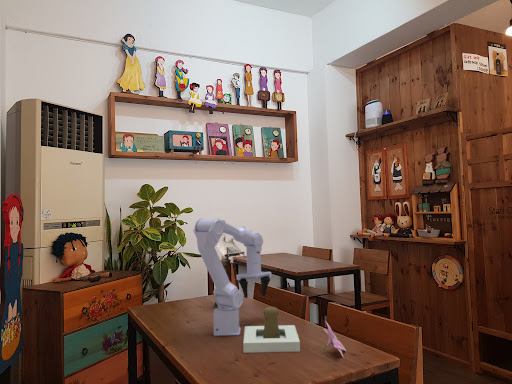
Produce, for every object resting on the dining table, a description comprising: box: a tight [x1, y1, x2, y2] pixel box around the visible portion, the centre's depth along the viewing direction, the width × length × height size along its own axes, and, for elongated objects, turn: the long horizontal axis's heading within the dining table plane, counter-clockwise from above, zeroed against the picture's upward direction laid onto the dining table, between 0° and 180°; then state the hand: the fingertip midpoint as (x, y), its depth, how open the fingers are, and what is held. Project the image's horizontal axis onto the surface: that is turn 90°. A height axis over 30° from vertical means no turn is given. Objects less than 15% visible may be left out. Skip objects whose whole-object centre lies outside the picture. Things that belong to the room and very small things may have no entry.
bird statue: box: [212, 233, 245, 310], centre depth 179 cm, size 17×13×35 cm
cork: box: [263, 306, 280, 339], centre depth 132 cm, size 6×6×11 cm
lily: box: [320, 320, 347, 358], centre depth 120 cm, size 11×11×9 cm
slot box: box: [242, 324, 301, 354], centre depth 131 cm, size 18×18×3 cm
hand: (254, 296), depth 155 cm, fingers open, 7 cm apart
